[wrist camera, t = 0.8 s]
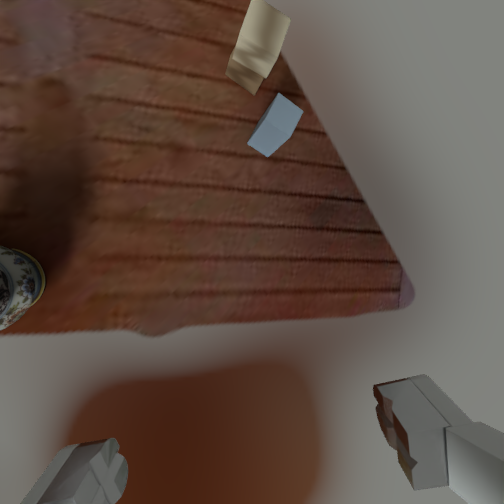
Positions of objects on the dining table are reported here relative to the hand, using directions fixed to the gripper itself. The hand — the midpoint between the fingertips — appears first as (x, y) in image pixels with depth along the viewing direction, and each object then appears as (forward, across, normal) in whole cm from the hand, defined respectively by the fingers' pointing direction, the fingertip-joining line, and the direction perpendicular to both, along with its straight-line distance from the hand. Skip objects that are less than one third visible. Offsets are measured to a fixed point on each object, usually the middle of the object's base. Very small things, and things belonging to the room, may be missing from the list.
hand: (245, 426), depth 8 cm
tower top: (+40, -8, -28) cm, 49 cm away
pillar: (+44, -6, -15) cm, 47 cm away
